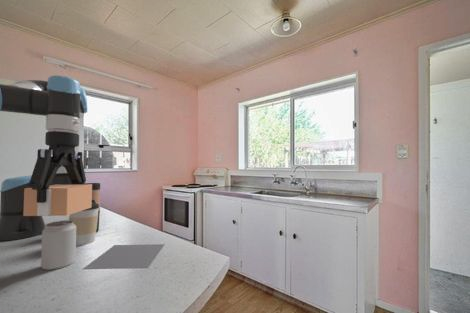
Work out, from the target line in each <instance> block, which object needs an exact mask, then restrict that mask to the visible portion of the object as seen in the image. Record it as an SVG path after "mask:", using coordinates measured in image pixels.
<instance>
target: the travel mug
mask: <svg viewBox="0 0 470 313" xmlns="http://www.w3.org/2000/svg"><path fill="white" fill-rule="evenodd" d="M84 185H92V200H94V201H95V202H96V204H99V208H98V221H97V229H96V233H98V232H99V230H100V229H99V228H100V215H101V214H100V213H101V212H100V211H101V183H99V182H88V183H87V182H85V184H84Z"/></svg>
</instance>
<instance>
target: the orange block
mask: <svg viewBox="0 0 470 313" xmlns="http://www.w3.org/2000/svg"><path fill="white" fill-rule="evenodd" d="M48 189H52V190H51V215H48V216H49V217H56V216H57V217H58V216H59V217H60V216H64V217H65V216H70V214H73V213H76V212H79V211H82V210H85V209H88V208H91V207H92V185H50V186H49V188H48ZM37 207H38V203H37V190H33V189H32V188H24V212H23V216H37ZM48 216H47V217H48Z"/></svg>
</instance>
